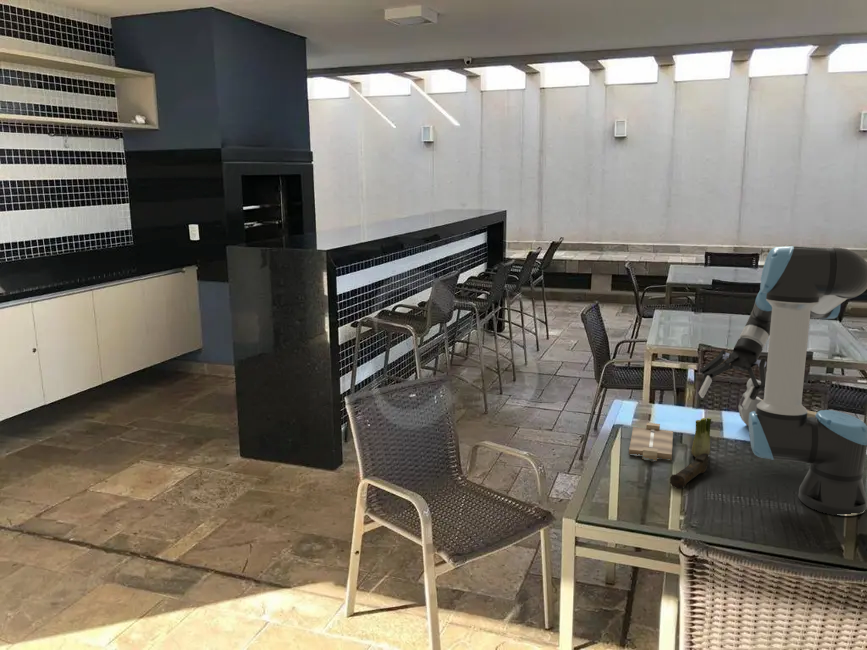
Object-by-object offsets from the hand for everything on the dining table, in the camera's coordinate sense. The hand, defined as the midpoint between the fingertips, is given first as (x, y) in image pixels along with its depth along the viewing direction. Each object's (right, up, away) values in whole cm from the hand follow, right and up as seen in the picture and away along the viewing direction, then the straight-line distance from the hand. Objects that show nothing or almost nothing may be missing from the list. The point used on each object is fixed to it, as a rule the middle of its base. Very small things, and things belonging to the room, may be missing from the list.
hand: (722, 401), depth 209 cm
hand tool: (-15, -19, -15) cm, 29 cm away
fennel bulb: (-8, -16, -3) cm, 18 cm away
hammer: (+28, -11, +17) cm, 34 cm away
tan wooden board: (-20, -14, +5) cm, 25 cm away
